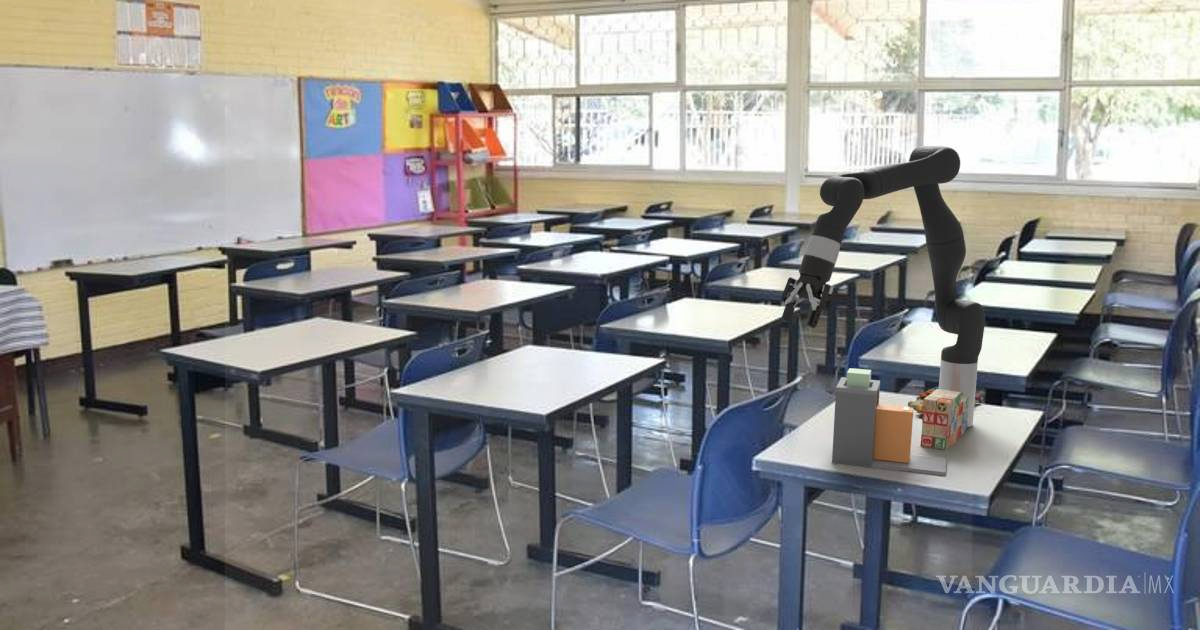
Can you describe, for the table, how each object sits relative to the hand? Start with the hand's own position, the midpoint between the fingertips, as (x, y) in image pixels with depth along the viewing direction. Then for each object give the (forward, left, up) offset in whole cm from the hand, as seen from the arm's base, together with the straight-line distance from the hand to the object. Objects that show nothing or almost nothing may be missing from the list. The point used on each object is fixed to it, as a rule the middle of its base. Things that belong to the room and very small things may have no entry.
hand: (797, 324), depth 241 cm
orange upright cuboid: (-2, +23, -31) cm, 39 cm away
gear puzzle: (-61, +32, -31) cm, 75 cm away
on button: (-2, +14, -15) cm, 21 cm away
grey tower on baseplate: (-2, +22, -31) cm, 39 cm away
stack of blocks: (-28, +34, -32) cm, 54 cm away
